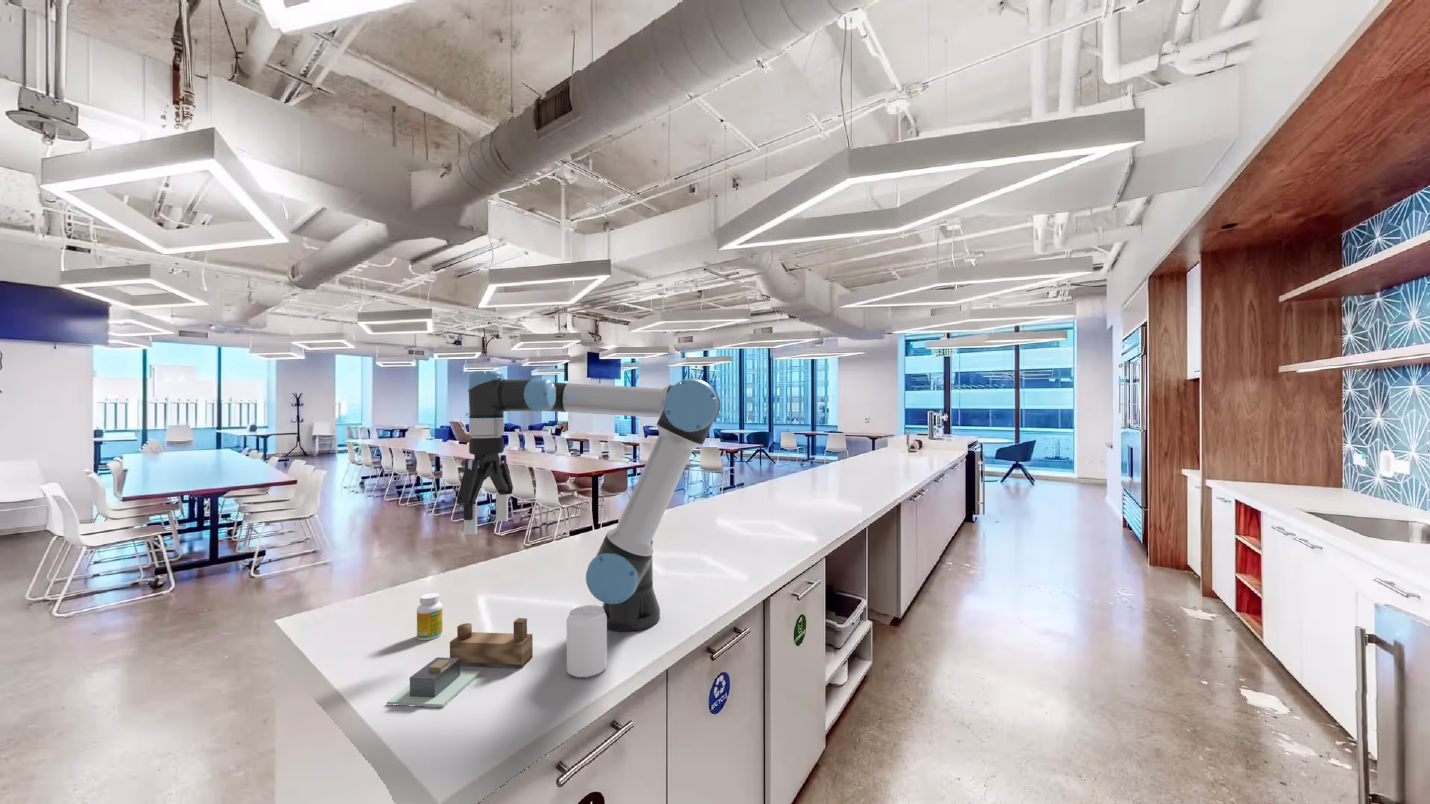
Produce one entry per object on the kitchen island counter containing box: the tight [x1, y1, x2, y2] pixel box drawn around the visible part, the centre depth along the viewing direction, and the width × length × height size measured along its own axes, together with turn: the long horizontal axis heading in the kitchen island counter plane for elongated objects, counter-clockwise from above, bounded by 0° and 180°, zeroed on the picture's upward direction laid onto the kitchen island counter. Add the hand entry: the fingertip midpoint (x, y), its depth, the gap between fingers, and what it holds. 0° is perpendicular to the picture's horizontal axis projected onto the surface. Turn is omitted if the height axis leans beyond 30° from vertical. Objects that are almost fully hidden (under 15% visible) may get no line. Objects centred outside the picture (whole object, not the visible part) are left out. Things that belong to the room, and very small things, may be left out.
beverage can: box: [566, 604, 608, 678], centre depth 107 cm, size 8×8×12 cm
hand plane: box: [449, 617, 534, 669], centre depth 112 cm, size 16×5×9 cm, turn 84°
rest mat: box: [386, 670, 481, 708], centre depth 101 cm, size 11×12×1 cm
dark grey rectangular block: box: [409, 657, 461, 698], centre depth 101 cm, size 5×8×4 cm, turn 174°
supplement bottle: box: [416, 592, 443, 641], centre depth 125 cm, size 5×5×10 cm
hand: (487, 527), depth 122 cm, fingers open, 13 cm apart
